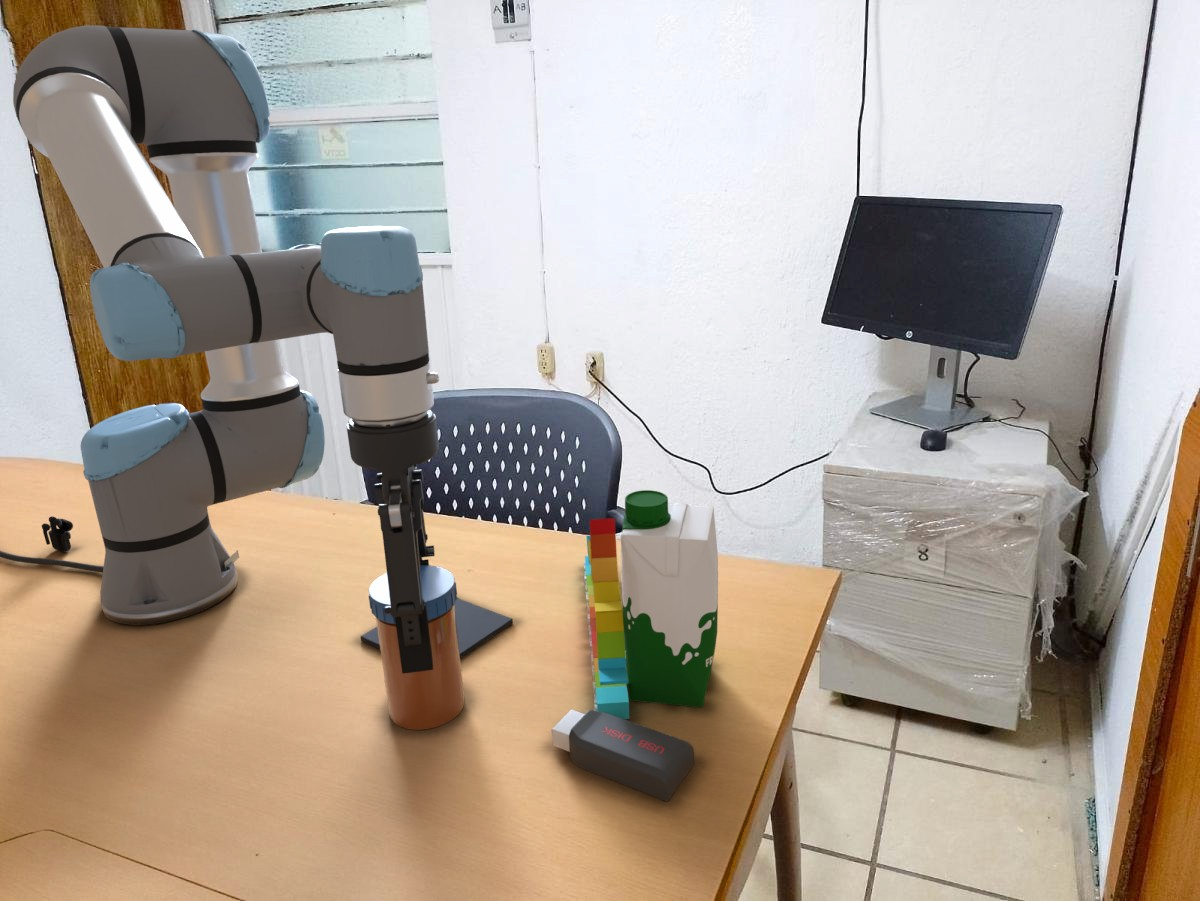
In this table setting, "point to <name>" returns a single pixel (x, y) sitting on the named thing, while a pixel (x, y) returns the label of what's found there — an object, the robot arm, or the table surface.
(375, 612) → the lid
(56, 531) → the wireless earbuds
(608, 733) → the usb drive
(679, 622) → the milk carton
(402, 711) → the jar
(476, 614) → the mat
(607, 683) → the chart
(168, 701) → the table surface
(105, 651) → the table surface
